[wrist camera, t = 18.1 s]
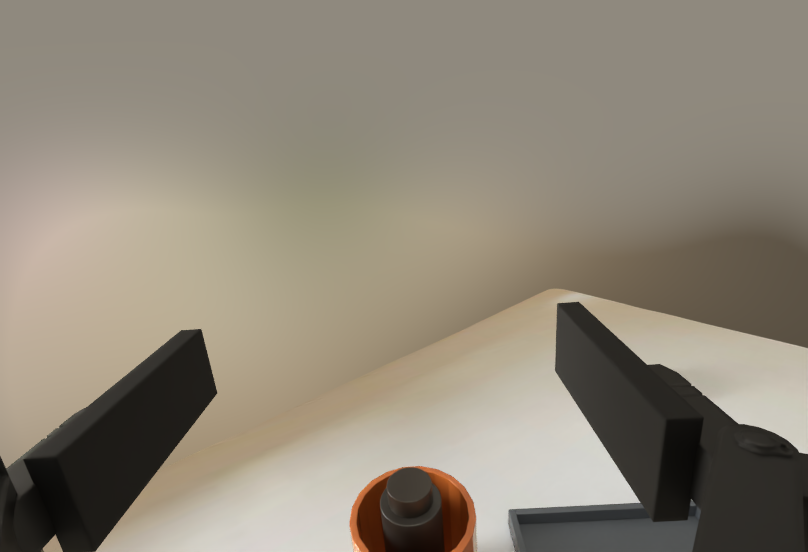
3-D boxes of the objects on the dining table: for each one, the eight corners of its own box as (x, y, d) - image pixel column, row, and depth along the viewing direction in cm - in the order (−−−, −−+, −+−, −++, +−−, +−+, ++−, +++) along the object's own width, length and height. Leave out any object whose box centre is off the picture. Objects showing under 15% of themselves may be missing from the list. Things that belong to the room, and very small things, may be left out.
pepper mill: (444, 567, 34) (438, 459, 31) (450, 626, 30) (442, 508, 27) (392, 570, 35) (380, 462, 31) (390, 628, 30) (375, 511, 27)
